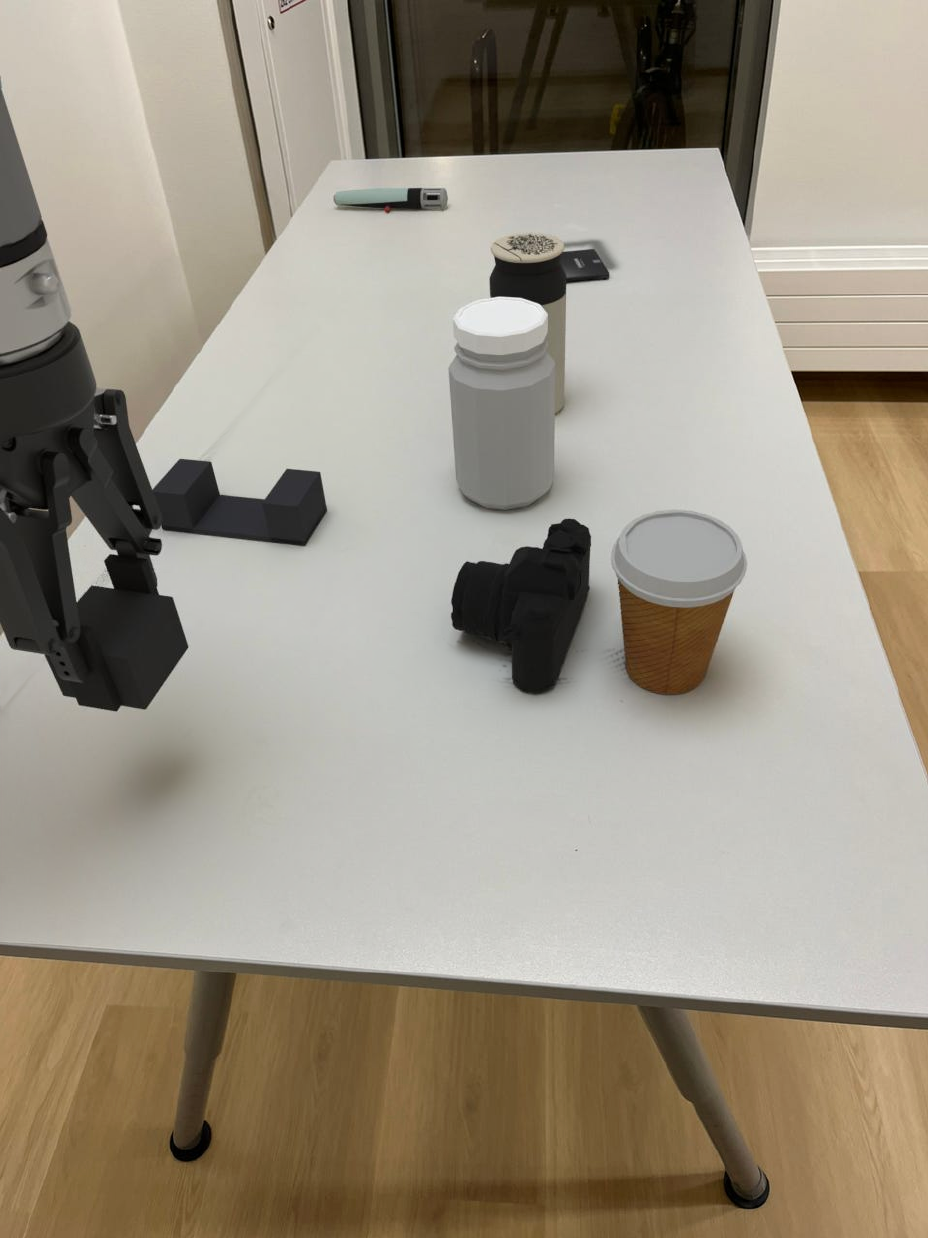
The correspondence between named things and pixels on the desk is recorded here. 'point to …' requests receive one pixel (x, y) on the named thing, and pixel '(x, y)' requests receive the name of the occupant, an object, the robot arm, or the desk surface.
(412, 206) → the teal pen-shaped device
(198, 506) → the notched block
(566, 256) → the solid state drive
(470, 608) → the film camera
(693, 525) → the disposable coffee cup
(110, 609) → the small block
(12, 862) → the desk surface
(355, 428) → the desk surface
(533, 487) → the jar
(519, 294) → the travel mug
